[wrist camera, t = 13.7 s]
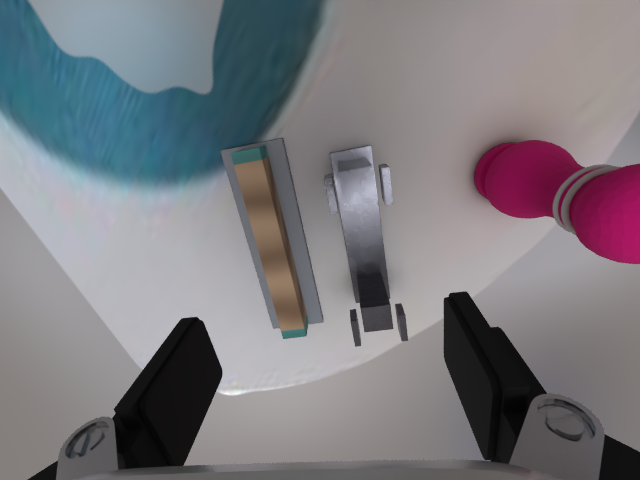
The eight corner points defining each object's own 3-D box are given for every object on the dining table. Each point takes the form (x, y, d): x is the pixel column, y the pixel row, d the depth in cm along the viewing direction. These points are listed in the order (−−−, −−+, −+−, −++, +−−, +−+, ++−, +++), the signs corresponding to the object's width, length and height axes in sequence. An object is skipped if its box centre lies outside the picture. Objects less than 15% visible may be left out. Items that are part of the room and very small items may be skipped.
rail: (239, 150, 33) (230, 153, 30) (265, 145, 33) (258, 147, 30) (287, 324, 41) (283, 338, 39) (308, 321, 41) (306, 336, 38)
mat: (222, 150, 34) (220, 150, 33) (282, 137, 33) (281, 138, 33) (274, 325, 42) (273, 328, 42) (323, 319, 41) (323, 322, 41)
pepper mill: (543, 190, 34) (797, 278, 15) (476, 214, 35) (633, 320, 16) (533, 126, 31) (818, 135, 13) (462, 153, 33) (625, 198, 14)
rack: (326, 153, 33) (321, 166, 24) (374, 144, 33) (387, 154, 23) (352, 300, 40) (356, 354, 31) (392, 294, 39) (408, 348, 30)
